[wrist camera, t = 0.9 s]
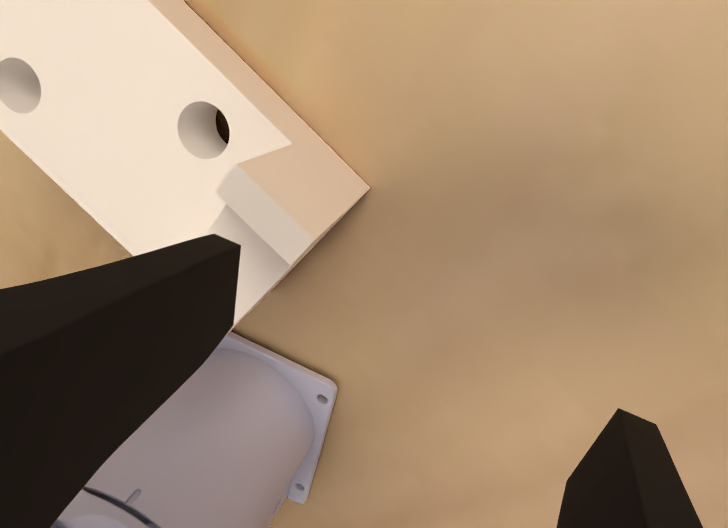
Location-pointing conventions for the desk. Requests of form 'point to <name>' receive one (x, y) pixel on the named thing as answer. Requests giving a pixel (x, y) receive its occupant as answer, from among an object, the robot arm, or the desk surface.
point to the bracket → (167, 133)
